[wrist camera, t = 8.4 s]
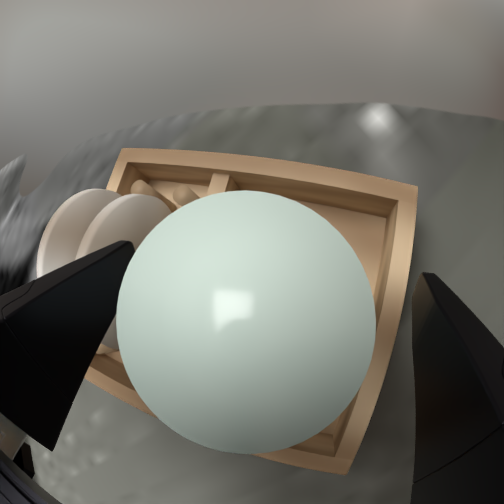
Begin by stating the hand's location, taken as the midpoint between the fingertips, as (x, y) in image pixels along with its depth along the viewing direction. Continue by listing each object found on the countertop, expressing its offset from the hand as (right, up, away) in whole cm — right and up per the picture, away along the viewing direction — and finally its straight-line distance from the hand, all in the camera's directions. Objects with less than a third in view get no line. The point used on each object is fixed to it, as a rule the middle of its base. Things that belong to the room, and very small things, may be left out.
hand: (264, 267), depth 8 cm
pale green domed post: (+2, -3, +8) cm, 8 cm away
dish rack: (-1, -2, +10) cm, 10 cm away
